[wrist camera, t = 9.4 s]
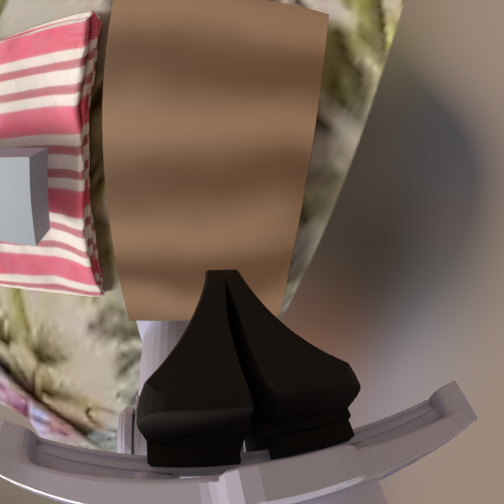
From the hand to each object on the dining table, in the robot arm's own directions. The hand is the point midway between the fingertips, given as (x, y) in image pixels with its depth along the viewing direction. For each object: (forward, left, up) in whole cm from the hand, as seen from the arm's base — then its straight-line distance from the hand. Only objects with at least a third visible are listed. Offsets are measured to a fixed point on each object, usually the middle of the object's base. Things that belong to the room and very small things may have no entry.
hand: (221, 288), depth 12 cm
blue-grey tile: (+3, +16, -8) cm, 18 cm away
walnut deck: (+3, +1, -10) cm, 10 cm away
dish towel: (+4, +17, -11) cm, 21 cm away
